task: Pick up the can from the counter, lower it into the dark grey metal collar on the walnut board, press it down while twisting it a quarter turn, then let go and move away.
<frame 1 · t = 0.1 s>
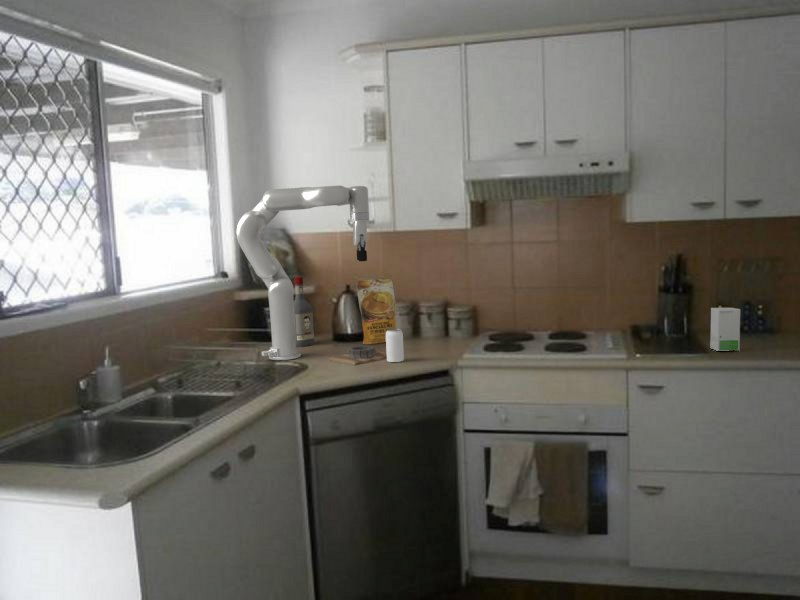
hand: (362, 260, 272), 37 cm above the worktop, tool pointing down, fingers open, 9 cm apart
can: (395, 361, 255), on the worktop
skincare box: (724, 351, 249), on the worktop
liquor: (302, 345, 300), on the worktop
socket: (362, 358, 264), on the worktop
pancake mix bag: (379, 342, 298), on the worktop
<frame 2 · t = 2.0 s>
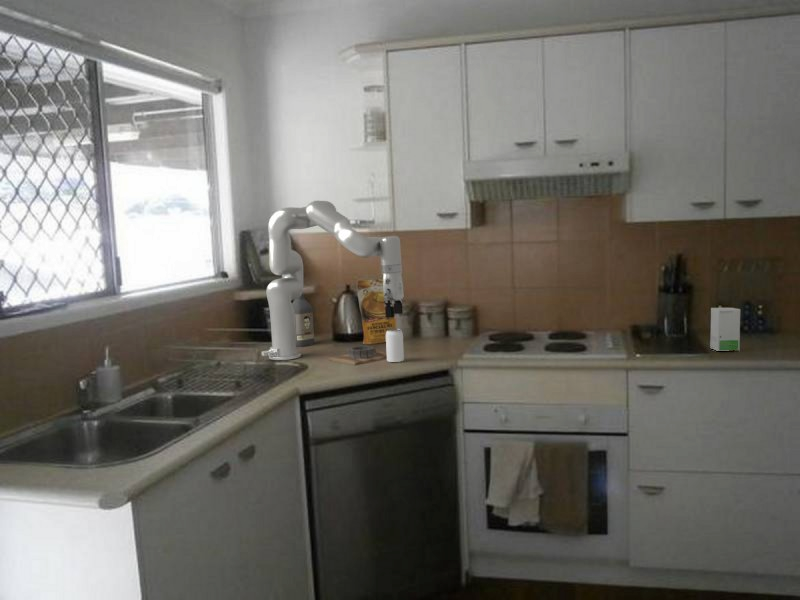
hand: (394, 315, 253), 17 cm above the worktop, tool pointing down, fingers open, 9 cm apart
nothing on the worktop moved.
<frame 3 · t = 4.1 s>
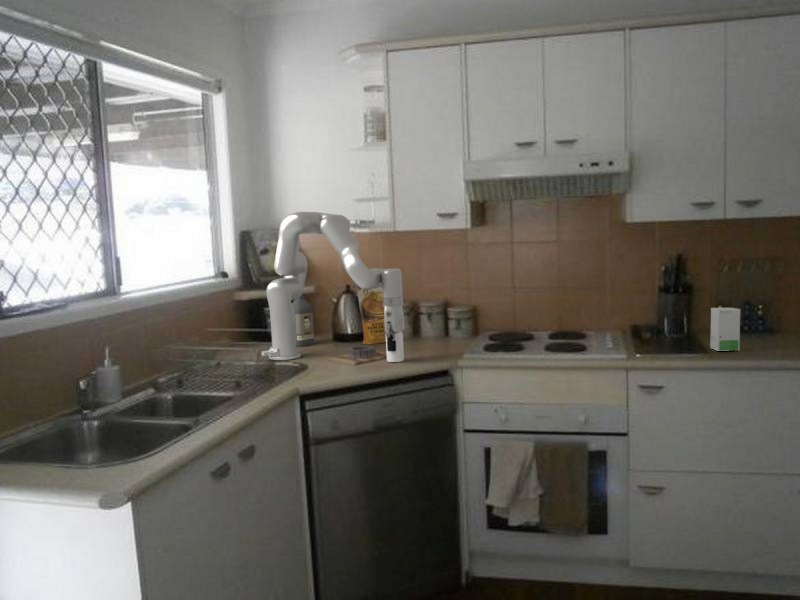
hand: (394, 348, 255), 5 cm above the worktop, tool pointing down, fingers closed on can, 6 cm apart
can: (395, 361, 255), on the worktop, touching gripper
everything else where it was.
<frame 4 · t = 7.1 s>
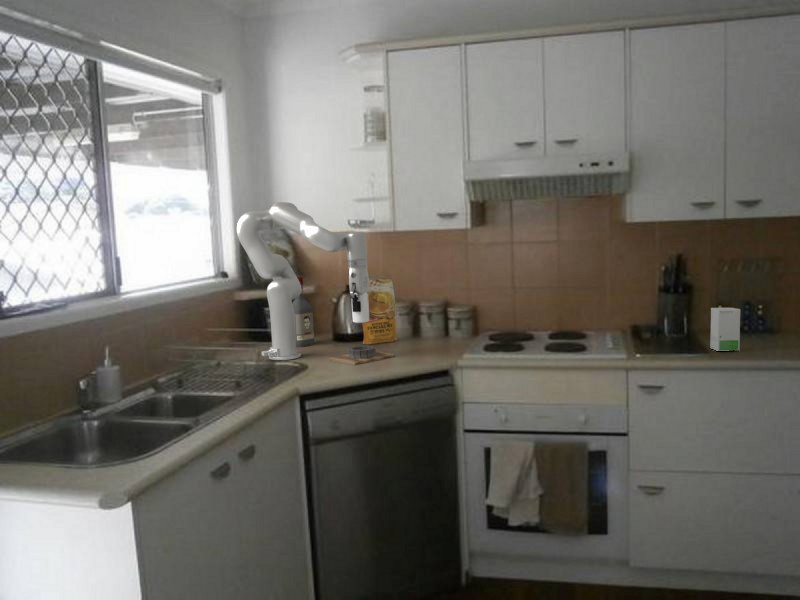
hand: (360, 310, 262), 19 cm above the worktop, tool pointing down, fingers closed on can, 6 cm apart
can: (361, 322, 262), point 14 cm above the worktop, touching gripper
everything else where it was.
when the fingers open (6 cm above the worktop, at t = 10.5 s): can stays where it is, resting on socket.
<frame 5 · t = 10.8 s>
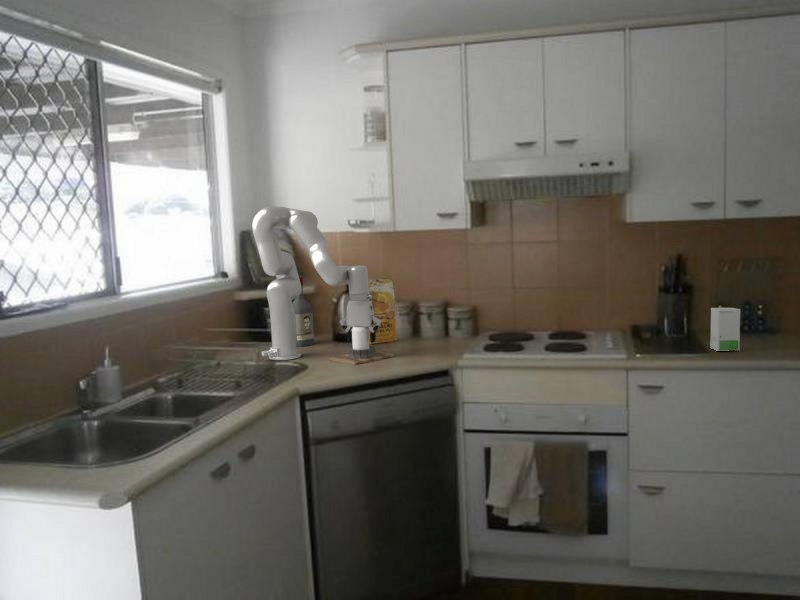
hand: (361, 341, 263), 6 cm above the worktop, tool pointing down, fingers open, 9 cm apart
can: (361, 356, 264), point 1 cm above the worktop, touching socket
everything else where it was.
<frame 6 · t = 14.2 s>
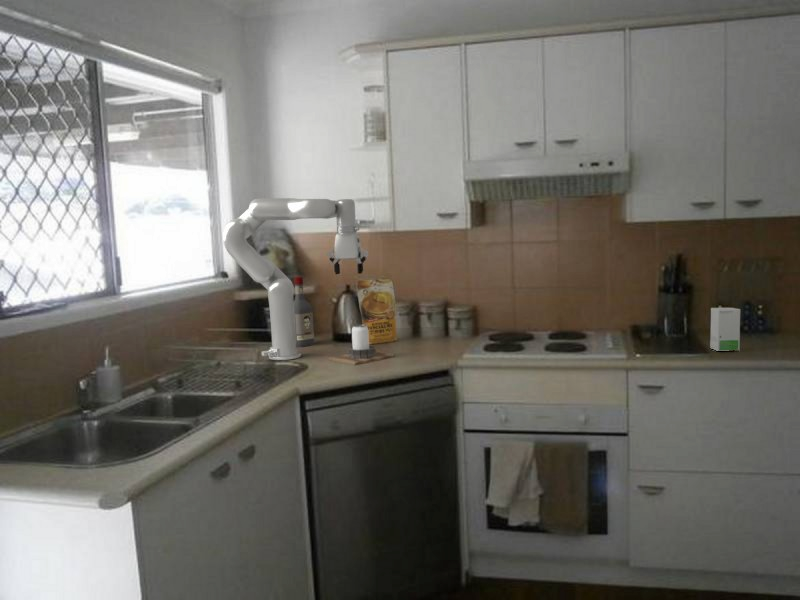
hand: (348, 273, 271), 32 cm above the worktop, tool pointing down, fingers open, 9 cm apart
nothing on the worktop moved.
at the end: can 0.3 cm off-centre on the socket, point 0.6 cm above the socket's base; can tilted 0°; the gripper is holding nothing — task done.
